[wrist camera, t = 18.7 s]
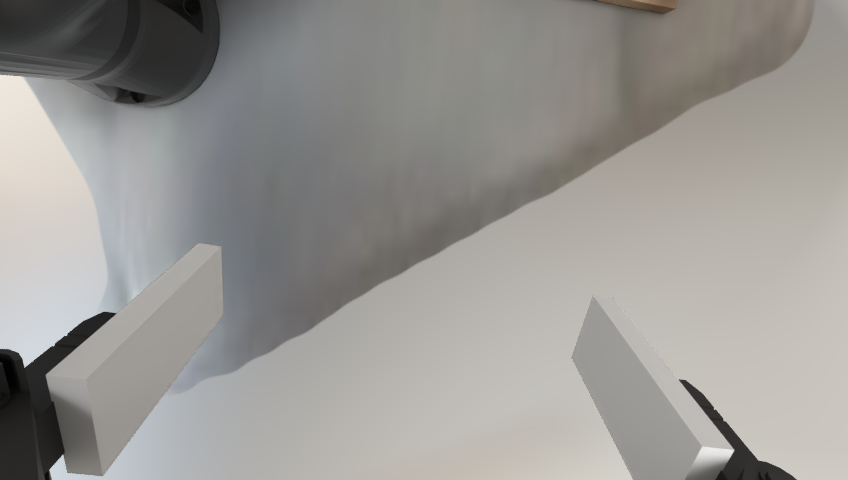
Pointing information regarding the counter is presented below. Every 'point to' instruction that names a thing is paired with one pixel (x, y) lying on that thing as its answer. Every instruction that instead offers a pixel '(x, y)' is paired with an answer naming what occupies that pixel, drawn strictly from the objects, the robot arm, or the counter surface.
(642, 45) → the counter surface
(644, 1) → the mounting board
